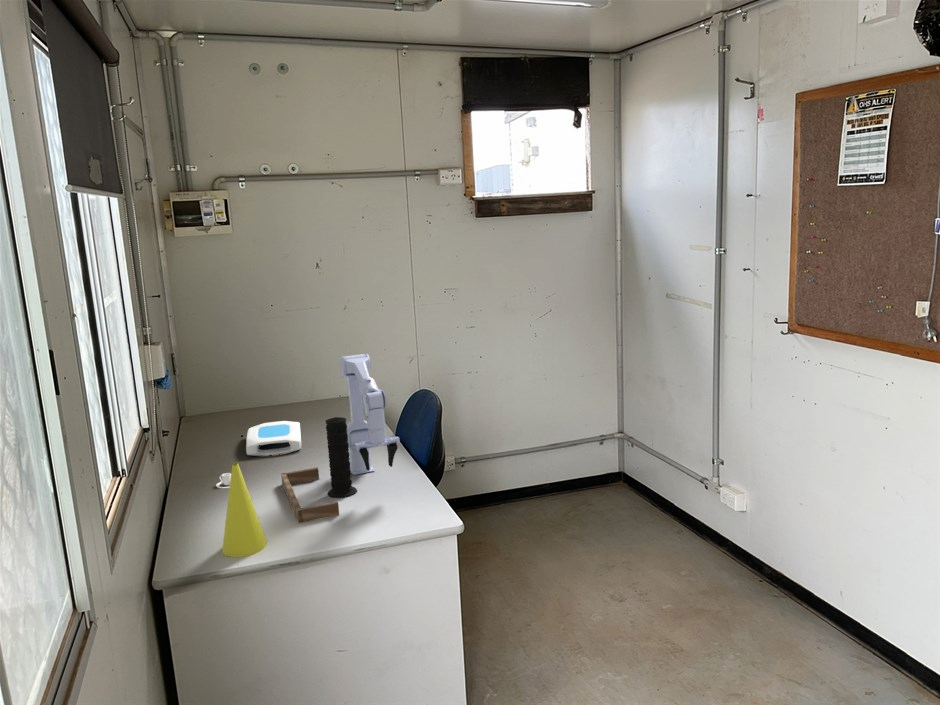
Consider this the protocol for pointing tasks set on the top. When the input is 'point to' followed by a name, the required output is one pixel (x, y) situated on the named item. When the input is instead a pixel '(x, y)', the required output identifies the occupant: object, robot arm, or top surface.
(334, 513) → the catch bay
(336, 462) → the handle grip
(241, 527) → the cone
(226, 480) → the teacup and saucer
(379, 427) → the robot arm
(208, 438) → the top surface
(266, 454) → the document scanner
